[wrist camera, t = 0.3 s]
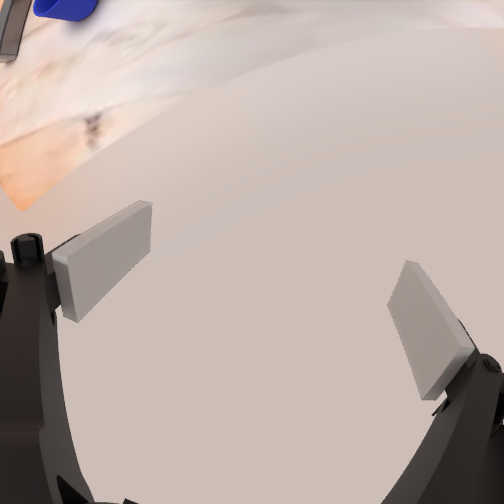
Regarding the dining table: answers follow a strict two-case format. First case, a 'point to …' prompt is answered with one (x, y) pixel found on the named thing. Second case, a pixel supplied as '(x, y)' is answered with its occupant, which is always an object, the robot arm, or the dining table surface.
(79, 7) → the mug
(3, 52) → the grooved grey block
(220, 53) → the dining table surface
